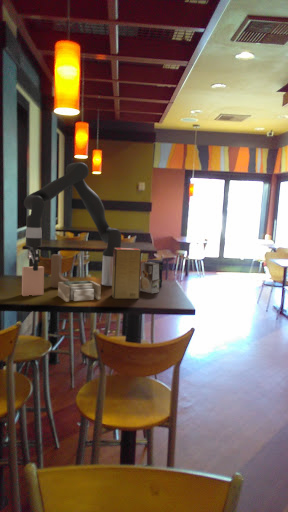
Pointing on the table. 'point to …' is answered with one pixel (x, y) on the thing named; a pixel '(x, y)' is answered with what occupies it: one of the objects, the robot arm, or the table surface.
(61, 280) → the wooden block
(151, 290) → the coffee box
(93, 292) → the offcut rack
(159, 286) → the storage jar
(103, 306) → the table surface
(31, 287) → the pink rectangular block
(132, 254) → the food packaging
